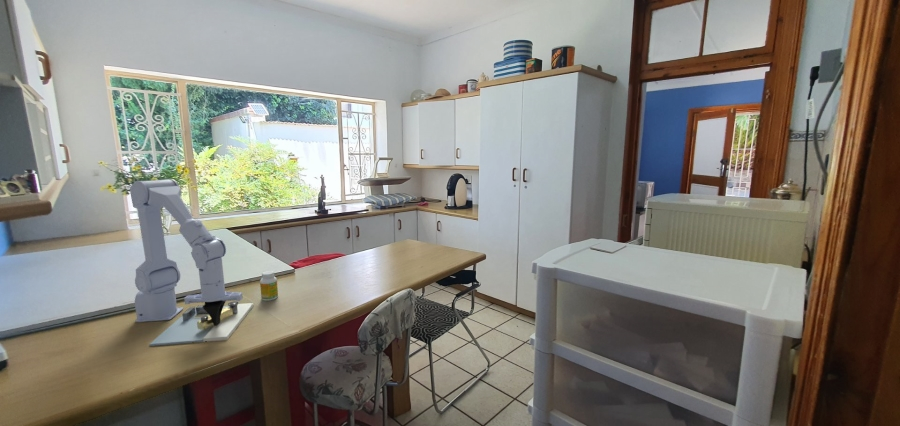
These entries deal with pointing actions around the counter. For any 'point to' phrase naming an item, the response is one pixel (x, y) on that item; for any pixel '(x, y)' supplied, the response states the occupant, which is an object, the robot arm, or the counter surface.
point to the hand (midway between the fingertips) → (217, 324)
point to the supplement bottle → (268, 286)
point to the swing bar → (208, 322)
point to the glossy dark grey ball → (233, 306)
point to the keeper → (193, 312)
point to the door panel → (191, 333)
